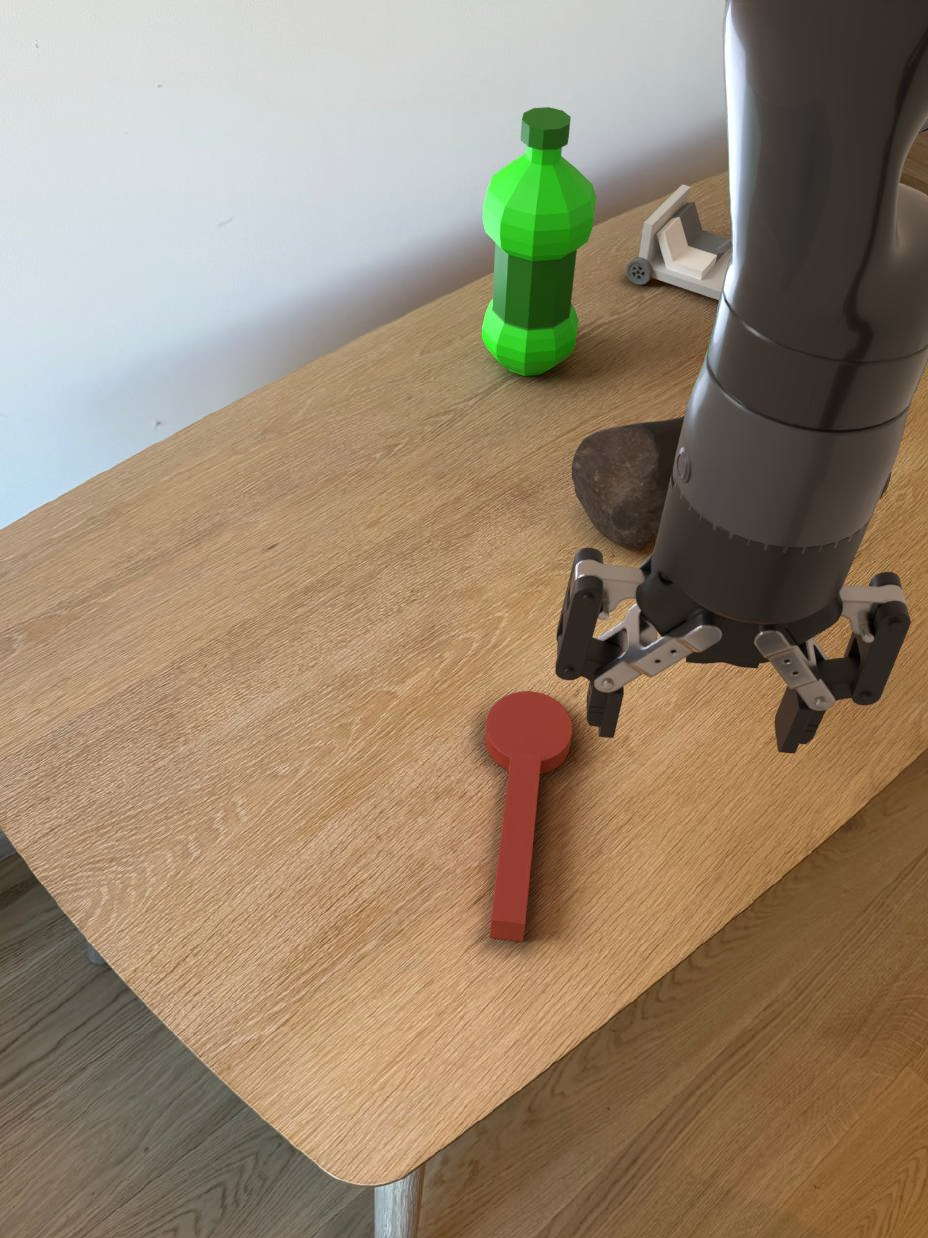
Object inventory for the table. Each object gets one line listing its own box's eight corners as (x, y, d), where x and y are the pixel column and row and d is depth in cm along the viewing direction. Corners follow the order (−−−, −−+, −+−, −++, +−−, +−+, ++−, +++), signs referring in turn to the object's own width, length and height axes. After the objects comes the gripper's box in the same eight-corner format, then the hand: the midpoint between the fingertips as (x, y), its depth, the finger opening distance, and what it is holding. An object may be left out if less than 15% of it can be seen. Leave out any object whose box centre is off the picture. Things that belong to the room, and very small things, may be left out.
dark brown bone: (603, 575, 96) (792, 469, 111) (671, 525, 87) (866, 417, 102) (537, 471, 97) (733, 379, 112) (598, 412, 88) (802, 320, 103)
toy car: (837, 199, 116) (798, 248, 110) (813, 282, 124) (775, 332, 117) (681, 154, 122) (635, 198, 116) (667, 235, 130) (623, 280, 123)
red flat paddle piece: (554, 946, 72) (558, 928, 70) (457, 933, 72) (458, 916, 70) (572, 710, 84) (576, 689, 82) (489, 700, 85) (491, 680, 83)
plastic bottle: (597, 359, 113) (630, 118, 95) (529, 404, 108) (549, 159, 90) (526, 319, 118) (543, 80, 99) (457, 360, 113) (461, 117, 94)
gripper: (948, 424, 43) (831, 683, 55) (585, 395, 44) (548, 659, 56) (994, 557, 38) (854, 811, 50) (584, 523, 39) (543, 783, 51)
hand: (693, 730), depth 53 cm, fingers open, 8 cm apart
